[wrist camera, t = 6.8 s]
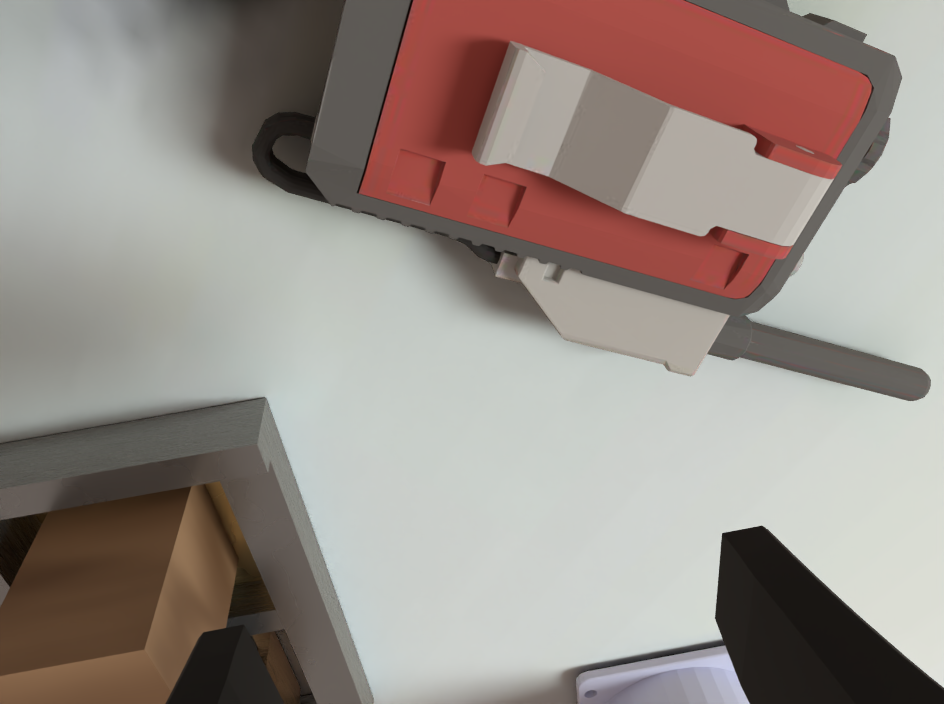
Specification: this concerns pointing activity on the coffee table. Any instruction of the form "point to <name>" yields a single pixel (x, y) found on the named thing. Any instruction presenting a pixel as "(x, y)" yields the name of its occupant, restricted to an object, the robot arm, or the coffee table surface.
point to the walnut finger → (115, 600)
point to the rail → (240, 508)
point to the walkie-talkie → (611, 159)
